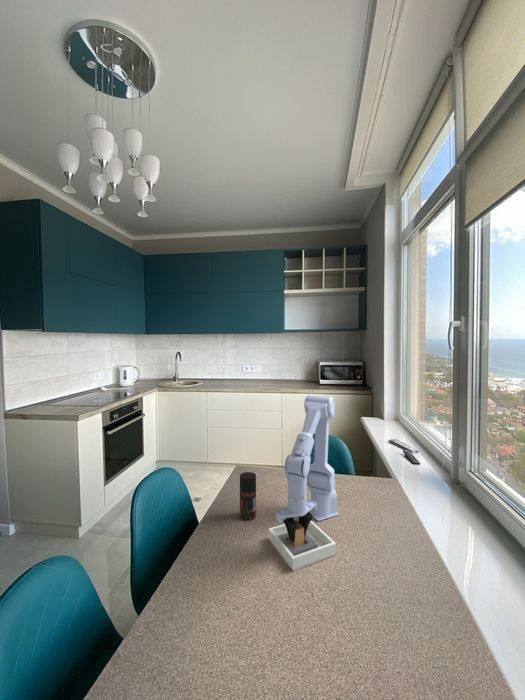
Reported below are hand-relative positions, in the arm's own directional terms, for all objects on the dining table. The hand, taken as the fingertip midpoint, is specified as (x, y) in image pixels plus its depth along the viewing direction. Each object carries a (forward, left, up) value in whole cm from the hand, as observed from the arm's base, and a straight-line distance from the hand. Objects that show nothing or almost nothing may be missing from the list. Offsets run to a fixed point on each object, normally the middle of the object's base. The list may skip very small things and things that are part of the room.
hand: (297, 538), depth 92 cm
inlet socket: (0, 0, -3) cm, 3 cm away
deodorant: (+7, -22, -3) cm, 24 cm away
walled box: (-1, 0, -3) cm, 4 cm away
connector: (0, 0, -3) cm, 3 cm away
